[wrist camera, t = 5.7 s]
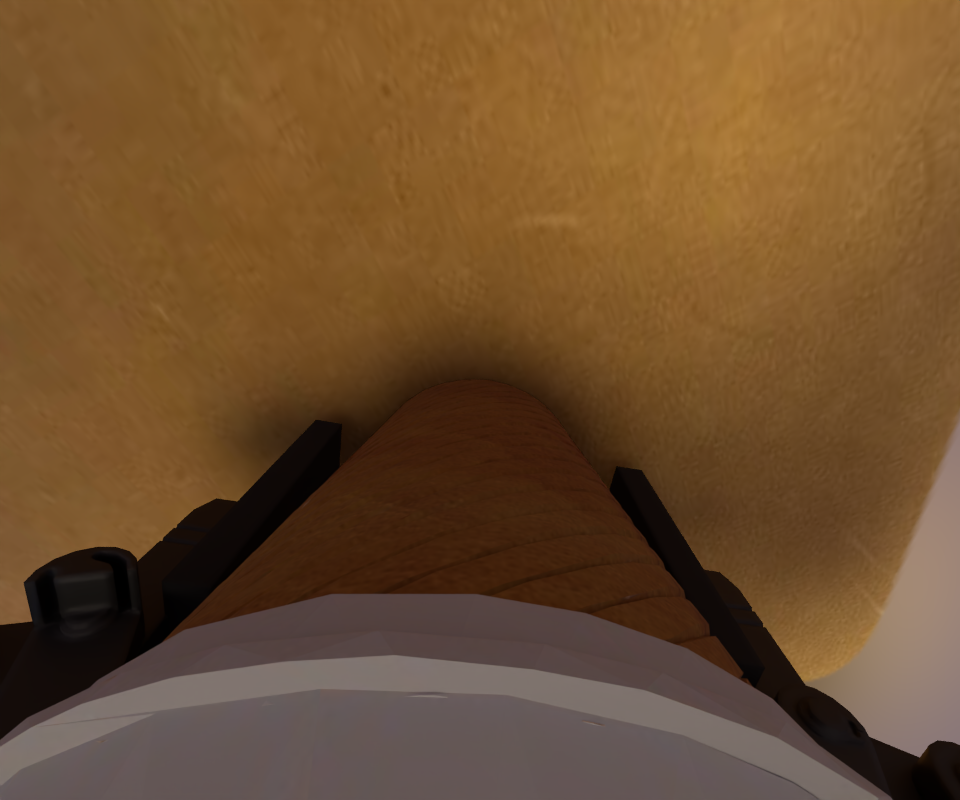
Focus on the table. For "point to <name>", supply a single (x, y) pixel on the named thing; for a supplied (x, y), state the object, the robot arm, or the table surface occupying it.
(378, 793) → the disposable coffee cup
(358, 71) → the table surface
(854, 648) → the table surface
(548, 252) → the table surface
